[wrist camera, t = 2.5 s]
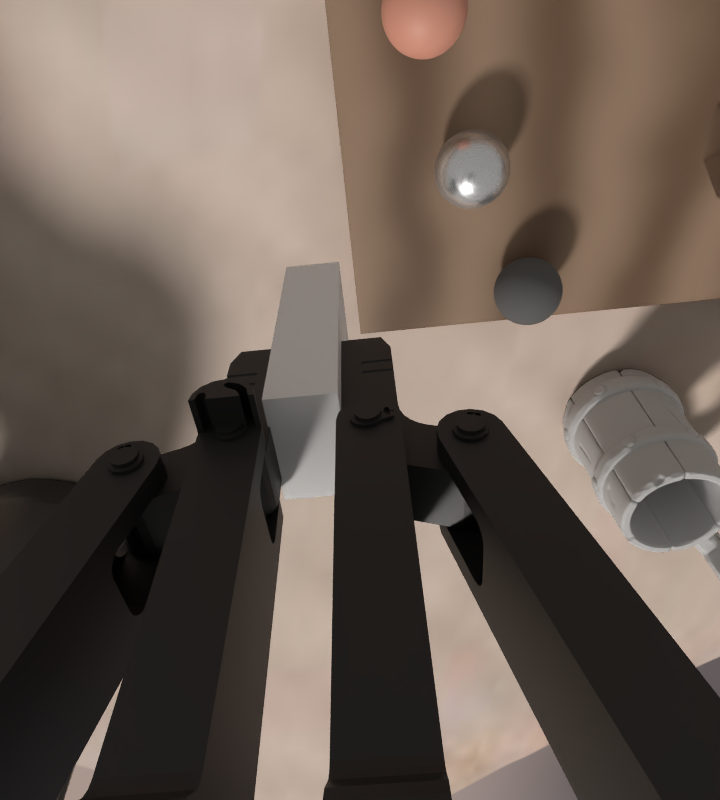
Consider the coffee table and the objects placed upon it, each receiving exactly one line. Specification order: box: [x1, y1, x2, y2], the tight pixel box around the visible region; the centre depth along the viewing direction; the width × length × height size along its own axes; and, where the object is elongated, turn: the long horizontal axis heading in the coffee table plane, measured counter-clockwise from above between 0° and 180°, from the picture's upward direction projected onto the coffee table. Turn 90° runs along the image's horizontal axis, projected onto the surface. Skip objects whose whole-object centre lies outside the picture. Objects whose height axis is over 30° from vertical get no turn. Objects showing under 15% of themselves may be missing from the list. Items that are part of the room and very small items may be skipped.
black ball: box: [494, 257, 563, 325], centre depth 32 cm, size 4×4×4 cm
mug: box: [563, 369, 720, 580], centre depth 38 cm, size 8×12×12 cm, turn 43°
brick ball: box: [381, 0, 468, 60], centre depth 25 cm, size 4×4×4 cm
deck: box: [325, 0, 720, 334], centre depth 31 cm, size 30×18×2 cm, turn 95°
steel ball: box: [434, 129, 511, 209], centre depth 28 cm, size 4×4×4 cm
